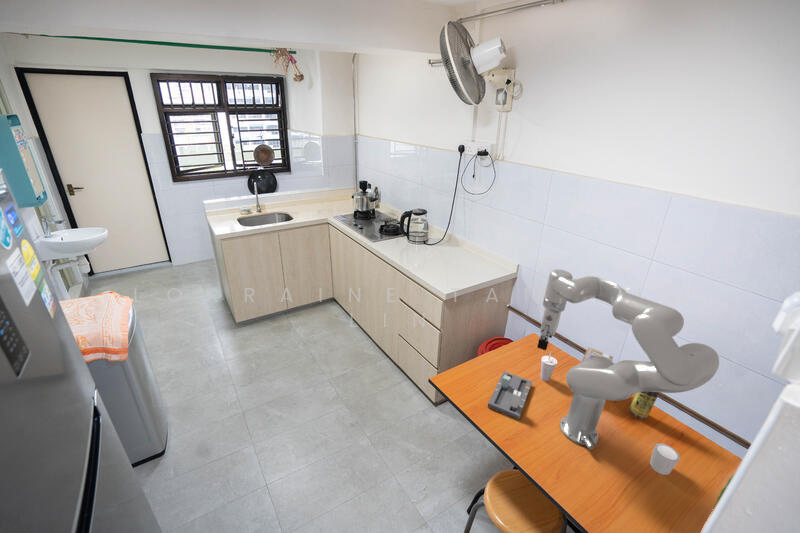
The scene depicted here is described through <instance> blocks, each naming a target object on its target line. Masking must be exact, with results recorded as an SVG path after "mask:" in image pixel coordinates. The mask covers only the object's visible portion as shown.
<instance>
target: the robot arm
mask: <svg viewBox="0 0 800 533" xmlns="http://www.w3.org/2000/svg"><path fill="white" fill-rule="evenodd" d="M543 297H544V298H543V301H542V307H544V312H543V315H542V320H541V324H540V330H539V332H540V333H541V334H540V335H539V339H538V343H537V349H540V350H543V351H547V350H548V345H549V339H552V337H554V336H555V334H556V332H557V329H558V327H559V324H560V323H559V322H560V319H561V315H562V312H564V311H565V308H566V304H567V302H569V303H570V304H579V303H582V302H586V301H588V300H591V299H596V300H600V301H602V302H606V303H607V304H609V305H611V306H612V308H611V309H612V310H611V313H612V315H613V317H614V318H615V319H616V320H617V321H618V320H619V321H621V322H623V323H626V324H629V325H630V326H631V331H632V334H633V336H634V338H635V340H636V341H637V343H638V345H639V346H640V348H641V349H642V351H644V354H645V355H646V356H647V358H648V359H649V361H645V360H632V359H623V360H620V361H618V362H616V363H614V362H613V360H612V361H611V360H610V359H608V358H606V357H602V356H596V357H592V358H590V359H588V360H586V361H583V362H582V363H581V362H580V363H578V364H576V365H573V366H572V367H571V368H569V370H568V371H567V373H566V377H565V378H566V379H565V380H566V383H567V385H568V387H569V388H570V389H571V390H573V391H574V392H575V393H574V392H573V396H572V400H571V403H570V406H569V409H568V413H567V415H565V416H563V417H562V418H561V420H560V421H559V427H560V430H561V431H562V433H563V435H564V436H565V437H567V439H569V440H570V441H572V442H574V443H575V444H578V445H582V446H586V447H587V449H588V450H593V449H594V447H596V446H598V445H599V443H598V439H599V433H598V430H597V426H598V423H599V422H600V418H601V416H602V413H603V411H604V407H605V404H606V402H607V401H611V402H618V401H624V400H627V399H629V398H631V397H633V396H634V395H636V393H638V392H641V391H649V392H659V393H664V394H675V393H676V394H677V393H678V394H679V393H683V392H689V391H693V390H695V389H698V388H700V387H702V386H704V385H705V384H706V383H708V382H709V381H711V380H712V379H713V377H714V376H715V375H716V373H717V371H718V369H719V367H720V366H719V365H720V357H719V355H718V353H717V351H716V350H715V349H714V348H713V347H711V346H709V345H707V344H704V343H700V342H691V343H685V344H683V345H681V346H679V345H678V343H677V342H676V340H675V339H674V338H673V337H675V336H676V335H677V334H679V333H680V332H681V331H682V330H683V327H684V325H685V320H684V317H683V315H682V313H681V312H679V311H678V310H677V309H675V308H672V307H670V306H667V305H666V304H665V305H664V304H662V303H658V302H656V301H652V300H650V299H646V298H643V297H640V296H637V295H634V294H631V293H629V292H627V291H626V289H624V288H622V287H621V286H620V285H619V284H616V283H615V282H613V281H610V280H607V279H604V278H600V277H597V276H593V275H590V276H583V277H580V278H577V279H574V278H573V275H572V273H570V272H569V271H567V270H563V269H553V270H552V271H551V272H550V273H549V276H548V280H547V285H546V289H545V293H544V296H543Z"/></svg>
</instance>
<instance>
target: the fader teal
mask: <svg viewBox="0 0 800 533" xmlns="http://www.w3.org/2000/svg"><path fill="white" fill-rule="evenodd" d="M510 378H511V377H509V376H507V375H504V377H503V380H502V385H501V386H503V388H502V389H504V390H506V388H508V386H509V383H510Z"/></svg>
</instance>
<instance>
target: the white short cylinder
mask: <svg viewBox="0 0 800 533" xmlns="http://www.w3.org/2000/svg"><path fill="white" fill-rule="evenodd" d="M679 462H680V454H679V453H678V451H676V450H675V448H673V447H671V446H670V445H668V444H665V443H656V444H655V445H654V447H653V450H652V453H651V458H650V460H649V465H650V467H651V469H652V470H654V472H657V474H660V475H663V476H667V475H670V473H672V471H673V469H674V468H675V467H676V465H677V464H678V463H679Z"/></svg>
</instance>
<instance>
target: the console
mask: <svg viewBox="0 0 800 533" xmlns="http://www.w3.org/2000/svg"><path fill="white" fill-rule="evenodd" d="M504 375H507V376H509V377H511V378H510V383H509V386H508V388H506V390H504V389H502V388H503V386H501V385H502V380H503V377H504ZM532 383H533V381H531V380H529V379H526V378H523V377H521V376H518V375H515V374H512V373H510V372H508V371H503V372H502V373H501V376H500V378H499V380H498V382H497V384H496V386H495V389H494V391H493V393H492V395H491V397H490V399H489V400H488V403H487V408H489V407H490V408H489V409H491V408H492V409H491V410H494V411H496V410H497V411H496V412H498V411H499V413H501V414H503V415H505V414H506V416H508V417H510V418H513V419H516V420H517V419H518V420H517V421H520V418H521V415H522V414H523V410H524V407H525V404H526V402H527V398H528V396H529V393H530V390H531V388H532V387H531V386H532ZM514 390H516V391H519V392H521V397H520V401H519V405H518V408H516V409H515V410H513V409H511V408H512V406H510V405H511V400H512V396H513V392H514Z"/></svg>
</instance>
